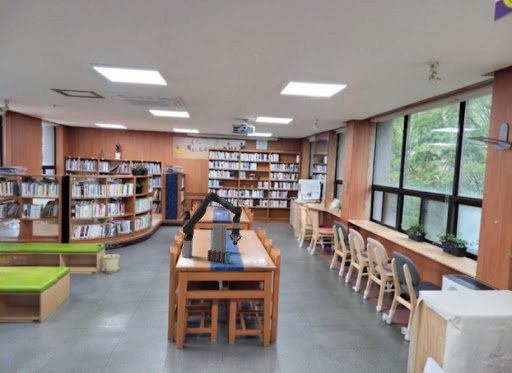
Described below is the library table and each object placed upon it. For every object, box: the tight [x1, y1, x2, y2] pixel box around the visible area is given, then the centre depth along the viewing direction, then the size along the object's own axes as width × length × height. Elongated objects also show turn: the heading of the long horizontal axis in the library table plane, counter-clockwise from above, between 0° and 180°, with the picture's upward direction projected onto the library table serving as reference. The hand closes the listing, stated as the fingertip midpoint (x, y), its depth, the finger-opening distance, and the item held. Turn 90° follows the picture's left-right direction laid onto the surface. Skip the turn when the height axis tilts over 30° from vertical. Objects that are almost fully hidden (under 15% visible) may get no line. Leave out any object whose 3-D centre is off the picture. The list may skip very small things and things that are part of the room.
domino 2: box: [211, 250, 217, 263], centre depth 306 cm, size 2×5×10 cm, turn 158°
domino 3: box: [215, 251, 221, 263], centre depth 304 cm, size 2×5×10 cm, turn 158°
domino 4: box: [220, 252, 226, 264], centre depth 303 cm, size 2×5×10 cm, turn 158°
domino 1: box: [206, 249, 212, 262], centre depth 308 cm, size 2×5×10 cm, turn 158°
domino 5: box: [224, 252, 231, 265], centre depth 301 cm, size 2×5×10 cm, turn 158°
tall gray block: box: [211, 224, 228, 254], centre depth 338 cm, size 14×6×30 cm, turn 103°
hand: (235, 245), depth 297 cm, fingers closed
